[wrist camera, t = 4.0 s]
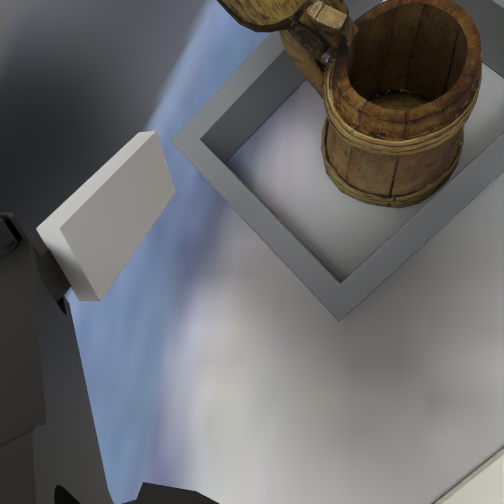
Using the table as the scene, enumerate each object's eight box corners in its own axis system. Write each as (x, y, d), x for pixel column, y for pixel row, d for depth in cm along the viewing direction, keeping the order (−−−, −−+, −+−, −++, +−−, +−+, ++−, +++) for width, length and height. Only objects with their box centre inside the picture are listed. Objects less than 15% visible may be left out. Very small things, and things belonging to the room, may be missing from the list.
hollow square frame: (389, -34, 29) (394, -99, 24) (578, 101, 25) (630, 55, 20) (199, 164, 32) (170, 141, 27) (343, 316, 28) (338, 321, 23)
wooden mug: (314, 40, 30) (247, -299, 13) (488, 117, 26) (727, -216, 9) (251, 142, 31) (107, -51, 13) (413, 232, 27) (504, 123, 10)
